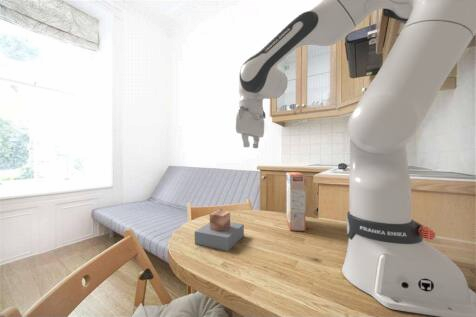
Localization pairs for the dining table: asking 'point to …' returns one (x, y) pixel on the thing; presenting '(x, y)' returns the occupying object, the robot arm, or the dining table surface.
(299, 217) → the cracker box
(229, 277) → the dining table surface
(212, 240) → the base
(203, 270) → the dining table surface
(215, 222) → the cube
